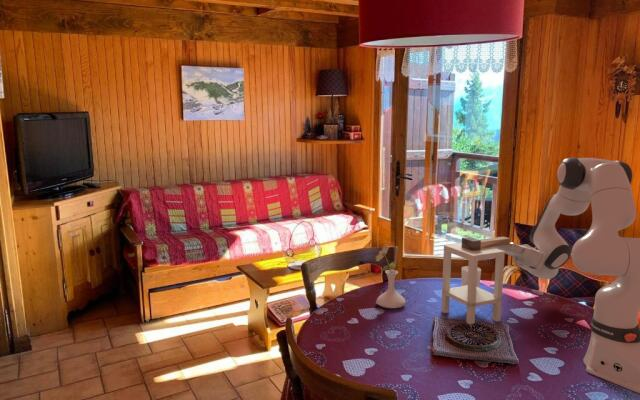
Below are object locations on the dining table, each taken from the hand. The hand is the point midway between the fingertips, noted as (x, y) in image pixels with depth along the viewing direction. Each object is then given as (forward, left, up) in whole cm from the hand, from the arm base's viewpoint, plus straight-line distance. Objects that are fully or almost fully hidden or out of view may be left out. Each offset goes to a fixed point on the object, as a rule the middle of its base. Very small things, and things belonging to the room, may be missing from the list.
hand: (502, 242), depth 185 cm
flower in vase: (+21, +35, -27) cm, 49 cm away
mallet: (0, +7, -1) cm, 7 cm away
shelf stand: (0, +13, -27) cm, 30 cm away
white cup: (+21, -5, -27) cm, 35 cm away
